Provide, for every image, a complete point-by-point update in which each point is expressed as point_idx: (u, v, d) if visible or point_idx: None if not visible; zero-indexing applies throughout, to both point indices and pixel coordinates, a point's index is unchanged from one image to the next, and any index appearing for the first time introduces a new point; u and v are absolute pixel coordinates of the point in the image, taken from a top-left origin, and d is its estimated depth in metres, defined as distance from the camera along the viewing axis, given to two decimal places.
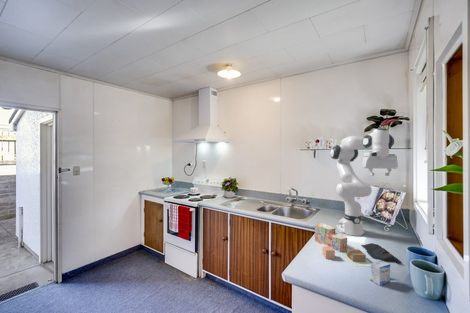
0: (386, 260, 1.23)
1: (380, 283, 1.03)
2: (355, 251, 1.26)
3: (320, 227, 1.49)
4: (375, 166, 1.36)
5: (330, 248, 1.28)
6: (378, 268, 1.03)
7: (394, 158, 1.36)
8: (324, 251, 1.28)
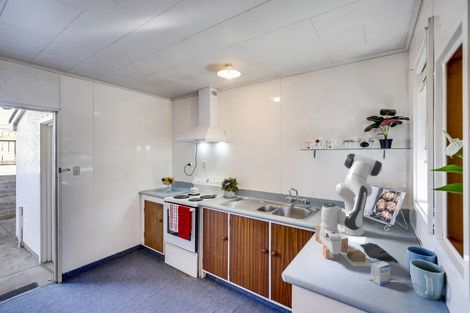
0: (382, 259, 1.24)
1: (380, 283, 1.03)
2: (355, 251, 1.26)
3: None
4: None
5: None
6: (378, 268, 1.03)
7: None
8: (324, 251, 1.28)
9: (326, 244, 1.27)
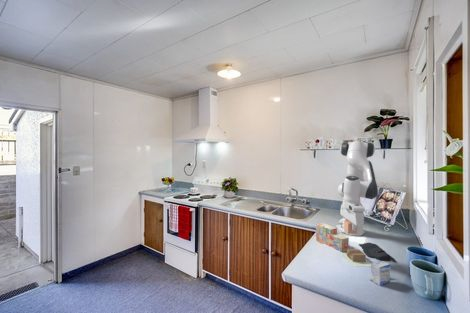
0: (381, 259, 1.24)
1: (380, 283, 1.03)
2: (355, 251, 1.26)
3: (321, 227, 1.48)
4: None
5: None
6: (378, 268, 1.03)
7: None
8: (346, 224, 1.26)
9: (348, 217, 1.26)
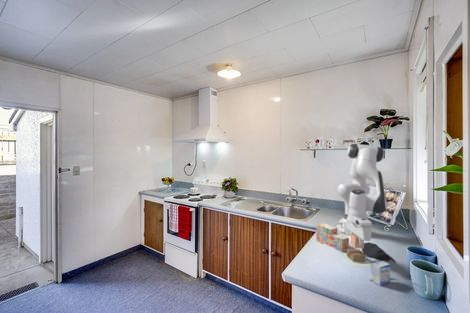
0: (379, 259, 1.25)
1: (380, 283, 1.03)
2: (355, 251, 1.26)
3: (322, 227, 1.48)
4: None
5: None
6: (378, 268, 1.03)
7: None
8: (352, 239, 1.25)
9: (354, 231, 1.25)
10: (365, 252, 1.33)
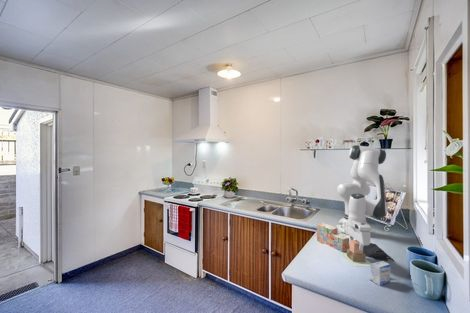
0: (378, 258, 1.25)
1: (380, 283, 1.03)
2: None
3: (322, 227, 1.49)
4: None
5: None
6: (378, 268, 1.03)
7: None
8: (352, 244, 1.26)
9: (354, 236, 1.25)
10: (364, 252, 1.34)
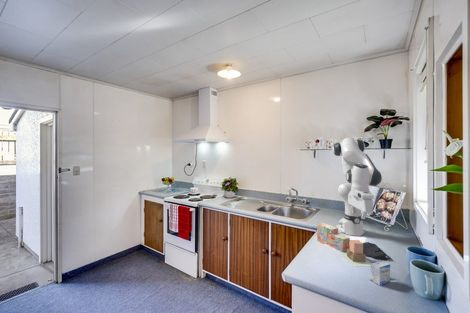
0: (377, 258, 1.25)
1: (380, 283, 1.03)
2: None
3: (322, 227, 1.49)
4: None
5: (358, 241, 1.26)
6: (378, 268, 1.03)
7: None
8: (352, 244, 1.26)
9: (356, 205, 1.26)
10: (363, 251, 1.34)
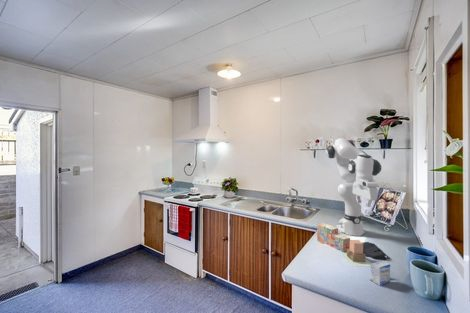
0: (376, 258, 1.26)
1: (380, 283, 1.03)
2: None
3: (322, 227, 1.48)
4: None
5: (358, 241, 1.26)
6: (378, 268, 1.03)
7: None
8: (352, 244, 1.26)
9: (361, 194, 1.30)
10: None
